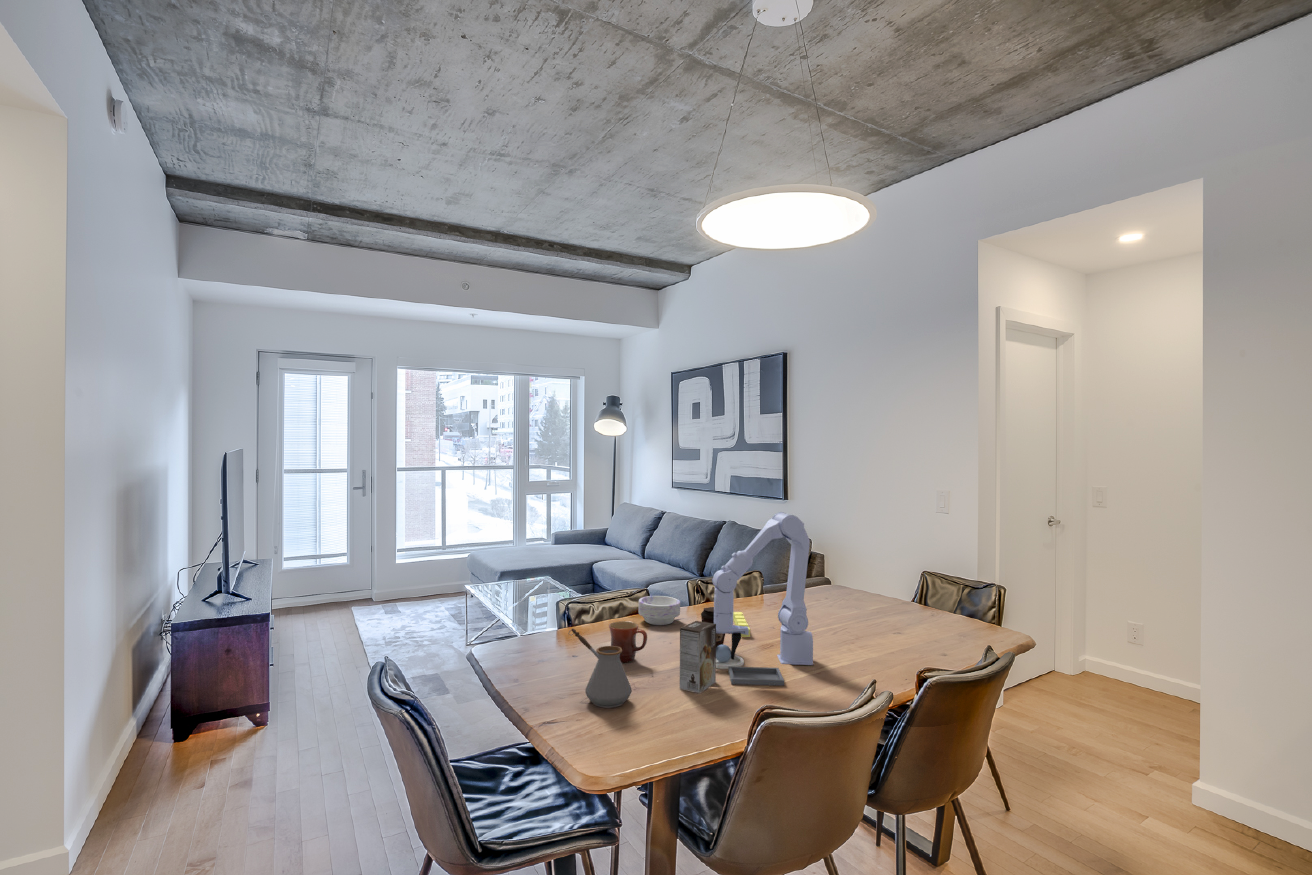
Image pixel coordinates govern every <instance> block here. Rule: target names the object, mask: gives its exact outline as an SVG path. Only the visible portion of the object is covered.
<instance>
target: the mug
mask: <svg viewBox="0 0 1312 875" xmlns="http://www.w3.org/2000/svg"><path fill="white" fill-rule="evenodd" d="M608 628H609V632H610V646H617V647H621V649H622V652H621V653H620V657H619V658H620V661H621V663H622V664H625V663H626V664H627V663H631V662H633V661H634V660H635V659H636V653H637V652H639V651H642V650H643V649H644V648H645V647H646V645H647V642H648V633H647V631H646V630H644V629H639V624H638V623H636V622H632V621H627V620H626V621H623V620H622V621H615V622H611V623H609V624H608ZM637 634H642V637H643V638H642V644H641V645H640V646H637V643H636V642H637V640H636V639H637V638H636V637H637Z"/></svg>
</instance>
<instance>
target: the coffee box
mask: <svg viewBox="0 0 1312 875" xmlns="http://www.w3.org/2000/svg"><path fill="white" fill-rule="evenodd" d="M716 674H717V668H716V624H713V623H707V622H702V620H701V621H700V620H695V621H692V622H690V623H689V624H686V625H683V626H681V627H680V628H679V689H680V690H684V691H689V692H692V693H696V694H701V693H702V692H704V691H705V690H707V689H709V688H710V687H711V686H712V685H713V684H716V676H717V675H716Z"/></svg>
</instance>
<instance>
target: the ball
mask: <svg viewBox="0 0 1312 875" xmlns="http://www.w3.org/2000/svg"><path fill="white" fill-rule="evenodd" d="M731 655H732V653H731V648H730V646H729V645H726V644H723V645H719V646H717V647H716V659H717V660H718V661H720V662H727V661H728V660H729V659H730V658H731Z"/></svg>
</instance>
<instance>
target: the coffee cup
mask: <svg viewBox="0 0 1312 875" xmlns="http://www.w3.org/2000/svg"><path fill="white" fill-rule="evenodd" d="M700 615H701V616H700V617H701V622H707V623H713V624H714V606H709V607H704V608H703V610H702V611H701V613H700ZM725 637H726V634H723V633H716V647H717V646H719V645H724V643H725Z"/></svg>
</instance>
